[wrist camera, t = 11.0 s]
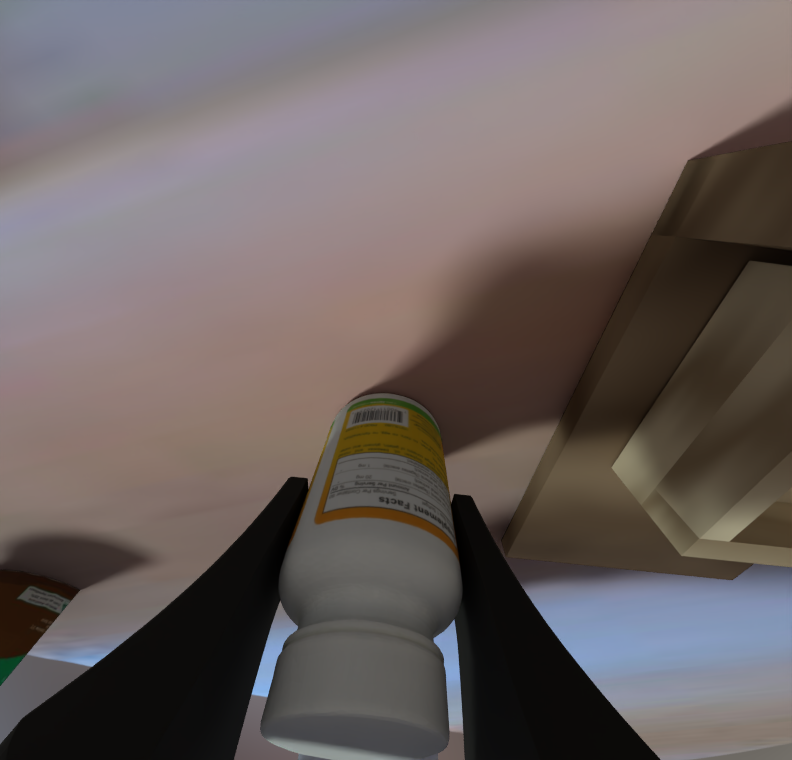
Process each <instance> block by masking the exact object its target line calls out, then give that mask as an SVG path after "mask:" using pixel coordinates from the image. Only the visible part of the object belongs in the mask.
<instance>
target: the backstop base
mask: <svg viewBox="0 0 792 760" xmlns="http://www.w3.org/2000/svg"><path fill="white" fill-rule="evenodd" d="M749 261H757V262H765V263H773V264H781V265H789V266H792V141H791V142H785V143H780V144H775V145H769V146H764V147H759V148H753V149H748V150H743V151H737V152H732V153H727V154H721V155H716V156H710V157H705V158H700V159H694V160H689V161H688V162H687V164H686V166H685V168H684V170H683V172H682V174H681V176H680V178H679V180H678V182H677V184H676V186H675V188H674V190H673V192H672V194H671V196H670V198H669V200H668V203H667V205H666V207H665V209H664V211H663V213H662V215H661V217H660V219H659V221H658V223H657V225H656V227H655V229H654V231H653V233H652V235H651V237H650V239H649V241H648V243H647V245H646V247H645V249H644V251H643V253H642V255H641V258H640V260H639V262H638V264H637V266H636V268H635V270H634V272H633V274H632V276H631V278H630V280H629V282H628V284H627V286H626V288H625V290H624V292H623V294H622V296H621V298H620V300H619V302H618V304H617V306H616V308H615V311H614V313H613V315H612V317H611V319H610V321H609V323H608V325H607V327H606V329H605V331H604V333H603V335H602V337H601V339H600V341H599V343H598V345H597V347H596V349H595V351H594V353H593V355H592V357H591V359H590V361H589V364H588V366H587V368H586V370H585V372H584V374H583V376H582V378H581V380H580V382H579V384H578V386H577V388H576V390H575V392H574V394H573V396H572V398H571V400H570V402H569V404H568V406H567V408H566V410H565V412H564V414H563V417H562V419H561V421H560V423H559V425H558V427H557V429H556V431H555V433H554V435H553V437H552V439H551V441H550V443H549V445H548V447H547V449H546V451H545V453H544V455H543V457H542V459H541V461H540V463H539V465H538V467H537V469H536V472H535V474H534V476H533V478H532V480H531V482H530V484H529V486H528V488H527V490H526V492H525V494H524V496H523V498H522V500H521V502H520V504H519V506H518V508H517V510H516V512H515V514H514V516H513V518H512V520H511V522H510V525H509V527H508V529H507V531H506V533H505V535H504V537H503V539H502V544H503V548H504V552H505V555H506V557H510V558H520V559H530V560H539V561H549V562H559V563H569V564H579V565H588V566H598V567H608V568H618V569H628V570H637V571H647V572H657V573H667V574H677V575H686V576H696V577H706V578H716V579H726V580H733V579H734V578H736V577H737V576H738V575H740V574H741V573H742V572H744V571H745V570H746V569H748V568H749V567H750V566H751V565H753V564H754V563H746V562H736V561H727V560H717V559H707V558H698V557H688V556H681V555H680V554H679V552H678V551H677V550H676V549H675V547H674V546H673V545H672V544H671V542H670V541H669V540H668V539H667V537H666V536H665V535H664V533H663V532H662V531H661V530H660V528H659V527H658V526H657V525H656V523H655V522H654V521H653V520H652V518H651V517H650V516H649V515H648V513H647V512H646V511H645V510H644V508H643V507H642V506H641V504H640V503H639V502H638V501H637V499H636V498H635V497H634V496H633V494H632V493H631V492H630V491H629V489H628V488H627V487H626V486H625V484H624V483H623V482H622V481H621V479H620V478H619V477H618V476H617V474H616V473H615V472H614V470H613V469H612V468H611V467H612V466H613V464H614V463H615V461H616V460H617V458H618V457H619V455H620V454H621V452H622V451H623V449H624V448H625V446H626V445H627V443H628V442H629V440H630V439H631V437H632V436H633V434H634V433H635V431H636V430H637V428H638V427H639V425H640V424H641V422H642V421H643V419H644V418H645V416H646V415H647V413H648V412H649V410H650V409H651V407H652V406H653V404H654V403H655V401H656V400H657V398H658V397H659V395H660V394H661V393H662V391H663V390H664V388H665V387H666V385H667V384H668V382H669V381H670V379H671V378H672V376H673V375H674V373H675V372H676V370H677V369H678V367H679V366H680V364H681V363H682V361H683V360H684V358H685V357H686V355H687V354H688V352H689V351H690V349H691V348H692V346H693V345H694V343H695V342H696V340H697V339H698V337H699V336H700V334H701V333H702V331H703V330H704V328H705V327H706V325H707V324H708V322H709V321H710V319H711V318H712V316H713V315H714V313H715V312H716V310H717V309H718V307H719V306H720V304H721V303H722V301H723V300H724V298H725V297H726V295H727V294H728V292H729V291H730V289H731V288H732V286H733V285H734V283H735V282H736V280H737V279H738V277H739V276H740V274H741V273H742V271H743V270H744V268H745V267H746V265H747V264H748V262H749Z"/></svg>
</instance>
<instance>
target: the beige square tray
mask: <svg viewBox="0 0 792 760" xmlns="http://www.w3.org/2000/svg"><path fill="white" fill-rule="evenodd" d="M611 468H612V469H613V470H614V472H615V473H616V474H617V476H618V477H619V478H620V479H621V481H622V482H623V483H624V484H625V486H626V487H627V488H628V489H629V491H630V492H631V493H632V494H633V496H634V497H635V498H636V499H637V501H638V502H639V503H640V504H641V506H642V507H643V508H644V510H645V511H646V512H647V513H648V515H649V516H650V517H651V518H652V520H653V521H654V522H655V523H656V525H657V526H658V527H659V528H660V530H661V531H662V532H663V533H664V535H665V536H666V537H667V539H668V540H669V541H670V542H671V544H672V545H673V546H674V547H675V549H676V550H677V551H678V552H679V554H680V555H681V556H688V557H698V558H707V559H717V560H727V561H736V562H746V563H756V564H765V565H775V566H785V567H792V266H789V265H781V264H773V263H765V262H757V261H749V262H748V264H747V265H746V267H745V268H744V270H743V271H742V273H741V274H740V276H739V277H738V279H737V280H736V282H735V283H734V285H733V286H732V288H731V289H730V291H729V292H728V294H727V295H726V297H725V298H724V300H723V301H722V303H721V304H720V306H719V307H718V309H717V310H716V312H715V313H714V315H713V316H712V318H711V319H710V321H709V322H708V324H707V325H706V327H705V328H704V330H703V331H702V333H701V334H700V336H699V337H698V339H697V340H696V342H695V343H694V345H693V346H692V348H691V349H690V351H689V352H688V354H687V355H686V357H685V358H684V360H683V361H682V363H681V364H680V366H679V367H678V369H677V370H676V372H675V373H674V375H673V376H672V378H671V379H670V381H669V382H668V384H667V385H666V387H665V388H664V390H663V391H662V393H661V394H660V395H659V397H658V398H657V400H656V401H655V403H654V404H653V406H652V407H651V409H650V410H649V412H648V413H647V415H646V416H645V418H644V419H643V421H642V422H641V424H640V425H639V427H638V428H637V430H636V431H635V433H634V434H633V436H632V437H631V439H630V440H629V442H628V443H627V445H626V446H625V448H624V449H623V451H622V452H621V454H620V455H619V457H618V458H617V460H616V461H615V463H614V464H613V466H612V467H611Z"/></svg>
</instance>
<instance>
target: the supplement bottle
mask: <svg viewBox="0 0 792 760" xmlns="http://www.w3.org/2000/svg"><path fill="white" fill-rule="evenodd" d="M278 589H279V596H280V600H281V603H282V606H283V608H284V610H285V612H286V613H287V615H288V616H289V617H290V619H291V620H292V621H293V622H294V623H295V624H296V625H297V626H298V629H297V631H295V632H294V633H293V634H291V635H290V636H289V637H288V638H287V640H286V641H285V643H284V645H283V648H282V652H281V653H280V655H279V657H278V659H277V662H276V667H275V671H274V675H273V679H272V683H271V687H270V690H269V694H268V698H267V702H266V705H265V709H264V712H263V716H262V720H261V727H260V730H261V734H262V736H263V737H264V738H265V739H266V740H268V741H269V742H270V743H272V744H275V745H277V746H279V747H282V748H284V749H287V750H289V751H293V752H296V753H299V754H303V755H308V756H314V757H319V758H325V759H332V760H417V759H422V758H426V757H429V756H432V755H434V754H437V753H439V752H441V751H443V750H444V749H445V748H446V747H447V745H448V742H449V719H448V704H447V689H446V673H445V667H444V657H443V654H442V652H441V651H440V649H439V647H438V646H437V645H436V644H435V643H434V641H433V638H434V637H436V636H437V635H439V634H440V633H442V632H443V631H444V630H445V629H446V628H447V627H448V626H449V625H450V624H451V623H452V621H453V620H454V619H455V617H456V615H457V613H458V611H459V608H460V604H461V601H462V593H463V588H462V577H461V568H460V562H459V555H458V548H457V541H456V535H455V528H454V522H453V515H452V508H451V501H450V494H449V487H448V480H447V473H446V467H445V459H444V452H443V445H442V439H441V435H440V430H439V427H438V425H437V423H436V421H435V419H434V418H433V416H432V415H431V414H430V412H429V411H428V410H427V409H426V408H424V407H423V406H422V405H420V404H419V403H417V402H416V401H414V400H412V399H410V398H407V397H404V396H400V395H395V394H389V393H377V394H370V395H366V396H362V397H360V398H357V399H355V400H353V401H352V402H350V403H349V404H347V405H346V406H345V407H344V408H342V410H341V411H340V412H339V413H338V414H337V416H336V417H335V419H334V421H333V424H332V426H331V428H330V431H329V434H328V436H327V439H326V442H325V445H324V448H323V451H322V453H321V456H320V459H319V462H318V465H317V467H316V470H315V473H314V476H313V478H312V481H311V484H310V487H309V489H308V492H307V495H306V498H305V501H304V503H303V506H302V509H301V511H300V514H299V517H298V520H297V522H296V525H295V528H294V530H293V533H292V536H291V539H290V541H289V544H288V547H287V550H286V553H285V556H284V560H283V563H282V566H281V570H280V574H279V585H278Z"/></svg>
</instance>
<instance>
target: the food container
mask: <svg viewBox="0 0 792 760" xmlns="http://www.w3.org/2000/svg"><path fill="white" fill-rule="evenodd" d="M79 591H80V590H78V589H76V588H74V587H72V586H70V585H68V584H65V583H62V582H60V581H57V580H54V579H51V578H48V577H45V576H41V575H36V574H32V573H27V572H22V571H11V570H0V686H1V685H2V683H3V682H4V681H5V680H6V679H7V677H8V676H9V675H10V674H11V673H12V671H13V670H14V669H15V668H16V666H17V665H18V664H19V663H20V662H21V661H22V659H23V658H24V657H25V656H26V655H27V653H28V652H29V651H30V650H31V649H32V647H33V646H34V645H35V644H36V643H37V641H38V640H39V639H40V638H41V637H42V635H43V634H44V633H45V632H46V631H47V629H48V628H49V627H50V626H51V625H52V623H53V622H54V621H55V620H56V618H57V617H58V616H59V615H60V614H61V612H62V611H63V610H64V609H65V608H66V606H67V605H68V604H69V603H70V602H71V600H72V599H73V598H74V597H75V596H76V594H77V593H78V592H79Z"/></svg>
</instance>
